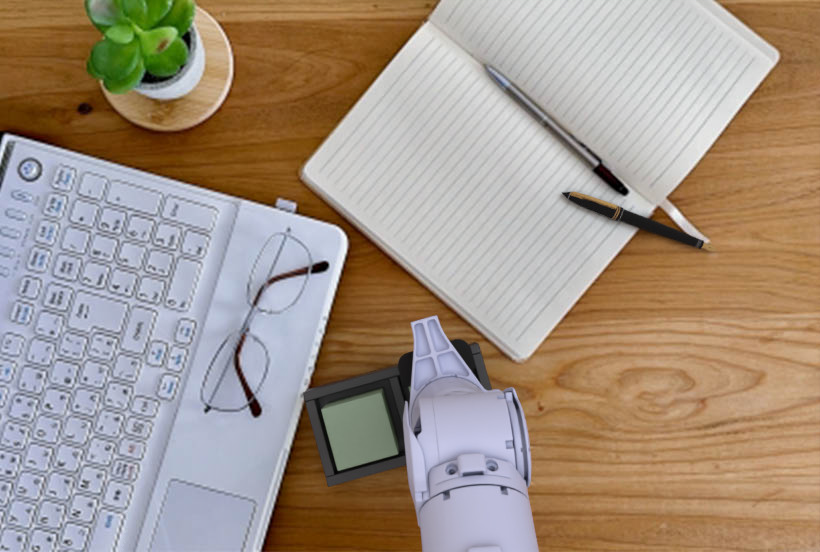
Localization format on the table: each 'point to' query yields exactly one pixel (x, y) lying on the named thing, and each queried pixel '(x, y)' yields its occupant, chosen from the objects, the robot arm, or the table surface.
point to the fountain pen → (634, 219)
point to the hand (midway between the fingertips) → (445, 403)
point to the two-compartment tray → (365, 421)
